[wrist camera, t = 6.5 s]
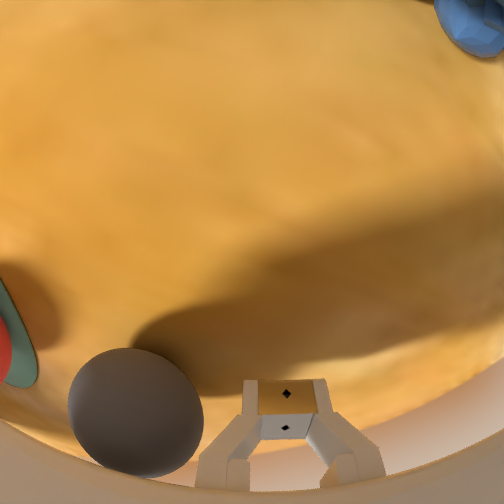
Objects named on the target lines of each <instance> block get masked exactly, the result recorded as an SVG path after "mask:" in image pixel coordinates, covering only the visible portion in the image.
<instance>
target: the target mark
mask: <svg viewBox="0 0 504 504" xmlns="http://www.w3.org/2000/svg"><path fill="white" fill-rule="evenodd" d="M0 315H1V317H2V318H3V320H4V322H5V324H6V326H7V329H8V332H9V335H10V339H11V345H12V360H11V365H10V369H9V371H8V374H7V376H6V378H5V379H4V382H6V383H8V384H10V385H12V386H15V387H20V388H27V387H30V386H31V385H32V384H33V383H34V382H35V380H36V378H37V370H38V369H37V361H36V357H35V353H34V350H33V347H32V344H31V341H30V338H29V336H28V334H27V331H26V329H25V326H24V324H23V322H22V320H21V318H20V316H19V313H18V311H17V310H16V308H15V306H14V304H13V302H12V299H11V298H10V296H9V294H8V292H7V290H6V288H5V286H4V285H3V283H2V281H1V279H0Z"/></svg>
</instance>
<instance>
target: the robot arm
mask: <svg viewBox="0 0 504 504" xmlns="http://www.w3.org/2000/svg"><path fill="white" fill-rule="evenodd" d="M278 439H305V440H306V441H307V443H308V444H309V445H310V446H311V447H312V449H313V450H314V451H315V452H316V453H317V455H318V456H319V457H320V458H321V459H322V460H323V462H324V463H325V464H326V465H327V466H328V467H329V469H328V470H327V472H326V473H325V474H324V476H323V477H322V479H321V480H320V488H317V489H307V490H296V491H271V492H252V491H250V463H249V462H248V461H247V459H248V457H249V456H250V455H251V453H252V452H253V450H254V449H255V448H256V446H257V445H258V443H259V442H260V440H278ZM0 504H504V429H502V430H500V431H498V432H497V433H495V434H493V435H491V436H489V437H487V438H485V439H483V440H482V441H479V442H478V443H475V444H473V445H471V446H469V447H467V448H465V449H462V450H460V451H458V452H456V453H453V454H451V455H448V456H446V457H444V458H441V459H439V460H436V461H434V462H430V463H427V464H425V465H422V466H419V467H416V468H413V469H409V470H406V471H403V472H400V473H396V474H392V475H388V476H386V473H385V468H384V465H383V462H382V458H381V455H380V451H379V447H377V446H376V445H375V444H374V443H373V442H371V441H370V440H369V439H368V438H367V437H365V436H364V435H363V434H362V433H361V432H360V431H358V430H357V429H356V428H355V427H354V426H353V425H351V424H350V423H349V422H348V421H347V420H346V419H345V418H343V417H342V416H341V415H340V414H339V413H338V412H333V409H332V404H331V400H330V396H329V391H328V387H327V383H326V380H325V379H302V380H248V379H244V382H243V399H242V415H237V416H236V417H235V418H234V419H233V420H232V421H231V423H230V424H229V425H228V426H227V427H226V428H225V429H224V430H223V431H222V432H221V433H220V434H219V435H218V437H217V438H216V439H215V440H214V441H213V442H212V443H211V444H210V445H209V446H208V447H207V448H206V449H205V450H204V451H203V452H202V453H201V454H200V455H199V461H198V467H197V474H196V481H195V487H188V486H182V485H176V484H170V483H164V482H159V481H155V480H150V479H145V478H141V477H137V476H133V475H129V474H126V473H122V472H119V471H115V470H112V469H109V468H105V467H102V466H99V465H96V464H94V463H91V462H88V461H85V460H82V459H80V458H77V457H75V456H72V455H70V454H67V453H65V452H63V451H60V450H58V449H56V448H54V447H51V446H49V445H47V444H45V443H43V442H41V441H39V440H37V439H35V438H33V437H31V436H29V435H27V434H25V433H23V432H22V431H20V430H18V429H16V428H15V427H13V426H11V425H10V424H8V423H6V422H5V421H3V420H0Z"/></svg>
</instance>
